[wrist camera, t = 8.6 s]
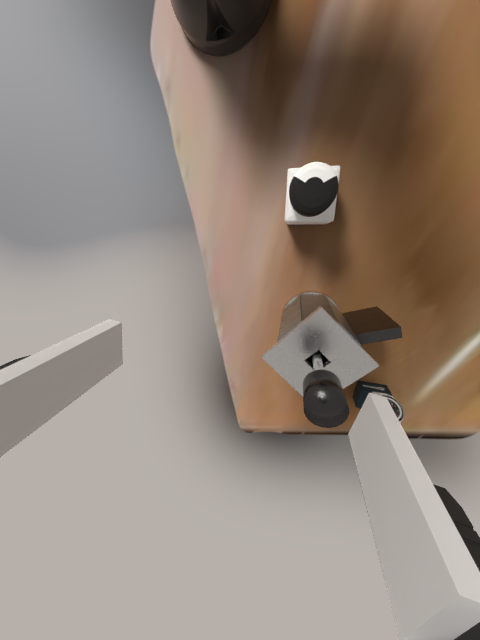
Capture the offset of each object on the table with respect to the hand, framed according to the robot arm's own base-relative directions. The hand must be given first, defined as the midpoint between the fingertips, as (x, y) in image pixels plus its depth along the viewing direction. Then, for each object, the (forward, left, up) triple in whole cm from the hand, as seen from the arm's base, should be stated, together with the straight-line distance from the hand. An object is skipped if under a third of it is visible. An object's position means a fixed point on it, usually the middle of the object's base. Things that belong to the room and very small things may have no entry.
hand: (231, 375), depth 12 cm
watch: (+4, +31, -36) cm, 47 cm away
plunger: (+2, +11, -32) cm, 34 cm away
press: (-1, +11, -36) cm, 37 cm away
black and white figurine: (-12, -5, -36) cm, 38 cm away
